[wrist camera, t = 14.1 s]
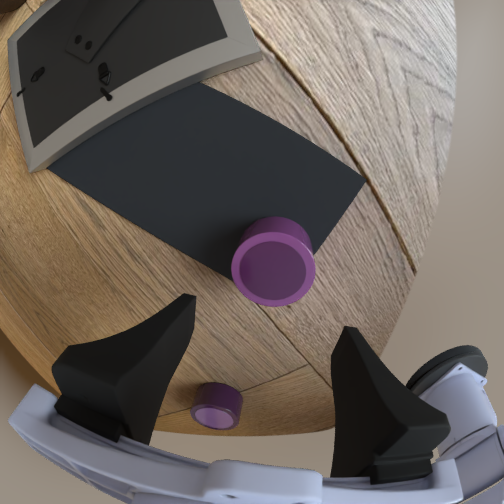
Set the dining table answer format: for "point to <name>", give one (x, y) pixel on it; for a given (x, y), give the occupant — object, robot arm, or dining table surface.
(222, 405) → the aubergine dish
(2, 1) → the plant pot
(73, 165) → the placemat
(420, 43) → the dining table surface
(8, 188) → the dining table surface
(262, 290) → the plum dish
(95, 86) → the picture frame
